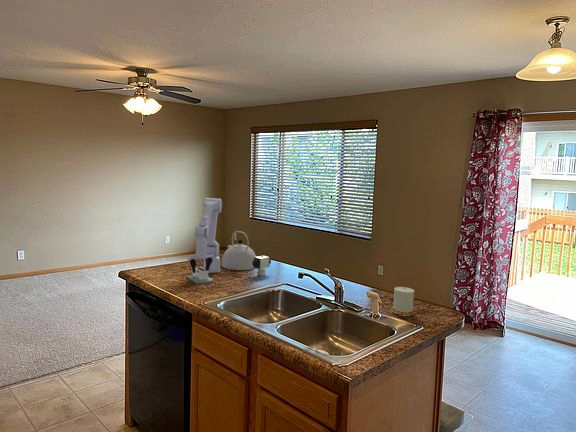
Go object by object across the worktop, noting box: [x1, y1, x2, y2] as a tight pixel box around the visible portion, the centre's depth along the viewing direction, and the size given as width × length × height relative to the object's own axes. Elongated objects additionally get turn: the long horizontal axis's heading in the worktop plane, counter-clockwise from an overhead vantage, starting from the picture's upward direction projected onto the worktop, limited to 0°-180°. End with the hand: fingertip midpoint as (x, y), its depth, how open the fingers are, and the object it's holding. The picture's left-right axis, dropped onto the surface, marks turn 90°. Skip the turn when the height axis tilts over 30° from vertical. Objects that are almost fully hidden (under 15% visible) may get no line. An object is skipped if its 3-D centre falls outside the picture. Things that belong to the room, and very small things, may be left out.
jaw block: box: [192, 266, 209, 281], centre depth 240 cm, size 5×10×5 cm, turn 33°
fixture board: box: [186, 274, 215, 285], centre depth 240 cm, size 10×14×1 cm
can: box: [392, 286, 415, 312], centre depth 202 cm, size 9×9×12 cm
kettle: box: [220, 230, 257, 271], centre depth 278 cm, size 25×23×22 cm
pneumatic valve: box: [252, 255, 272, 277], centre depth 258 cm, size 6×12×12 cm, turn 141°
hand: (200, 272), depth 240 cm, fingers open, 7 cm apart
